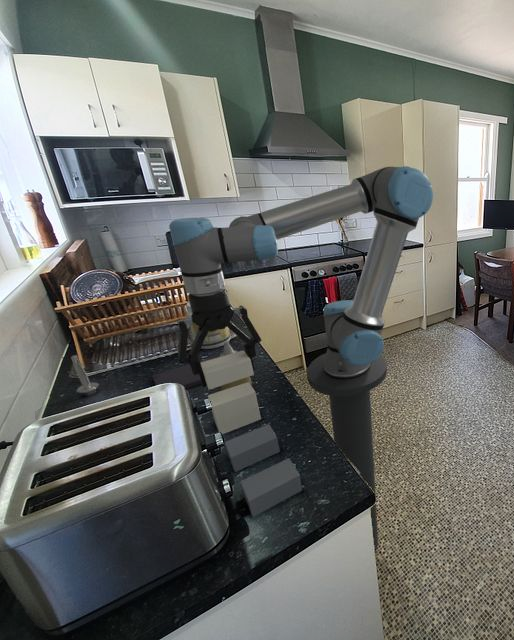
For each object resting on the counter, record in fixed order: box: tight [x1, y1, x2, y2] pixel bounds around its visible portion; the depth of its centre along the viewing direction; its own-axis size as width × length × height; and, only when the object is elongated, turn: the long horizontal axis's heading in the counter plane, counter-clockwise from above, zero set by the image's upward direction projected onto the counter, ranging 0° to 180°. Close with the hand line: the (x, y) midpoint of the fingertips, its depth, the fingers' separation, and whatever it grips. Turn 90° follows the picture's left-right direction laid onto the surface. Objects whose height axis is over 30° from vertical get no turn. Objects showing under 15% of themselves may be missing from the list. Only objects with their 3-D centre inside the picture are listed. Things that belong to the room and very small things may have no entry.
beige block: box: [207, 382, 259, 421], centre depth 91 cm, size 10×6×4 cm, turn 130°
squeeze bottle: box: [219, 341, 252, 391], centre depth 100 cm, size 8×8×18 cm
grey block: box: [224, 423, 281, 473], centre depth 82 cm, size 10×6×4 cm, turn 130°
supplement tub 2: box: [185, 301, 232, 350], centre depth 130 cm, size 12×12×17 cm
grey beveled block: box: [240, 457, 303, 518], centre depth 72 cm, size 10×6×4 cm, turn 130°
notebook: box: [152, 354, 220, 390], centre depth 112 cm, size 13×2×21 cm
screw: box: [70, 355, 100, 397], centre depth 100 cm, size 13×5×5 cm
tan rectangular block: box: [201, 349, 255, 391], centre depth 85 cm, size 10×6×4 cm, turn 131°
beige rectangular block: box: [211, 405, 262, 435], centre depth 92 cm, size 10×6×4 cm, turn 130°
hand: (228, 376), depth 85 cm, fingers closed on tan rectangular block, 10 cm apart
